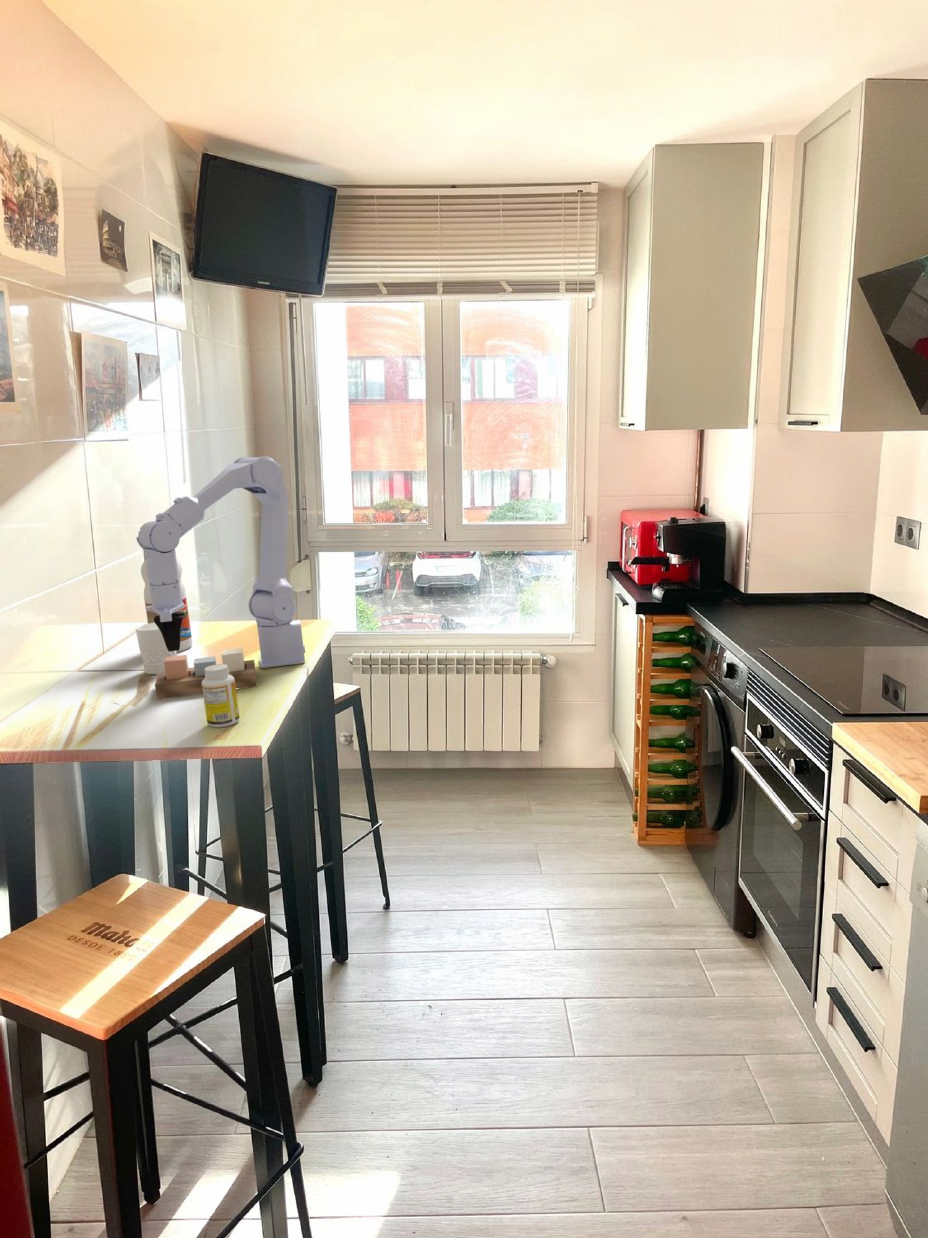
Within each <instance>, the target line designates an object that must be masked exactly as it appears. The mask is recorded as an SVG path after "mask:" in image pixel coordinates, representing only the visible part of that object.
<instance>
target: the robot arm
mask: <svg viewBox="0 0 928 1238" xmlns="http://www.w3.org/2000/svg"><path fill="white" fill-rule="evenodd" d="M283 471H284V469H283V467H282V466H281V465H279V463H278V462H277V461H276V460H275V459H274V458H272V457H270V456H260V457H246V456H245V457H243V456H242V457H241V456H240V457H238V458H237V459H235V460H234V461H233V463H232V462H231V463H229V464H228V465H226V466H225V468H224V469H223V470H222V471H221V472H220V473H219V474H218V475H216V476H215V477H214V478H213V479H212V480H211V481H209V483H207V484H206V485H205V486H204V487H203V488H202V489H201V490H199V492H197V493H196V494H195V495H194V496H193V497H191V496H186V495H185V496H183V497H176V498H175V499H174V500H173V501H172V502H173V503H174V504H172V505H171V506H170V507H169V508H167V509H165V510H164V512H162V513H161V512H160V513H157V514H156V515H155V521H154V520H153V521H146V522H145V523H143V524H142V525H141V526H140V528H139V531H138V534H137V535H138V536H137V537H136V539H135V540H136V543H138V546H139V547H140V548H141V549H142V551H144V560H145V559H146V567H147V573H148V580H149V587H150V594H151V601H152V606H147V607H145V612H146V611H153V612H155V613H157V614H159V615H158V616H155V617H154V622H155V624H156V625H157V626H158V628H159V630H160V631H161V633H162V636H163V638H164V641H165V644H166V647H167V649H168V651H169V652H170V651H178V650H179V649H180V638H181V625H182V620H183V618H184V614H185V613H184V612H176V611H178V610H180V609H182V608H184V603H183V602H182V594H181V587H180V580H179V573H178V566H177V560H178V558H177V553H176V548H177V547H178V546H179V543H180V540H181V538H182V537H184V536H185V535H186V534H187V533H188V532H190V531H191V530H192V529H194V528H195V527H196V526H197V525H198V524H200V523H201V522H202V521H203V520H204V519H205V512H206V510H207V509H208V508H211V506H213V505H214V504H215V503H217V502H218V501H219V500H221V499H222V498H224V497H225V496H227V495H228V494H229V493H231V492H233V490H235V489H243V490H245V491H247V492H248V493H251V494H252V495H253V496H254V497H255V498H256V499H257V500H258V502H260V503H261V521H260V522H261V525H260V527H261V529H260V553H259V554H260V555H259V577H258V579H257V580H256V581H255V582H254V583H253V585H252V593H251V596H250V598H249V600H248V610H249V612H250V613H249V614H251V616H253V617H254V618H255V622H256V626H257V634H258V643H259V651H260V658H258V659H259V668H260V669H268V668H275V667H282V666H291V665H299V664H305V663H306V659H305V654H306V647H305V644H304V639H303V631H302V625H301V624H302V623H301V620H300V619H297V620H295V619H294V620H292V619H293V618H294V616H295V614H296V609H297V605H296V601H295V599H294V593H293V591H294V590H293V587H292V586H291V584H290V583H289V581H288V580H287V577H286V575H287V572H286V571H287V553H288V552H287V550H288V547H287V546H288V524H289V520H288V519H289V500H290V499H289V493H288V489H287V487H286V483H285V481H284V478H283V476H284V475H283V473H284V472H283Z"/></svg>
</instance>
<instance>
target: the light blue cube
mask: <svg viewBox="0 0 928 1238" xmlns="http://www.w3.org/2000/svg"><path fill="white" fill-rule="evenodd" d="M211 665H217V661H216V655H215V656H207V657H199V658H194V661H193V667H194V669H195V676H201V675H205V668H206V667H208V666H211Z"/></svg>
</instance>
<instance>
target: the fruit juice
mask: <svg viewBox="0 0 928 1238" xmlns="http://www.w3.org/2000/svg"><path fill="white" fill-rule="evenodd" d="M177 566H178V573H179V580H180V587H181V594H182V602H183V603H184V608H182V609H180V610H178V611H176V612H184V613H185V614H184V618H183V620H182V625H181V638H180V649H179V650H178V651H176V653H179V652H181V651H187V650H189V649H191V648H192V646H193V638H192V636H193V635H192V630H191V622H190V615H189V609H188V601H187V592H186V588H185V585H184V583H183V581H182V574H183V573H182V572H183V571H182V570H183V569H182V564H181V563H180V561H179V560H178V559H177ZM140 574H141V578H142V579H143V582H144V589H143V598H144V599H143V600H144V606H145V607H144V608H146V607H147V606H152V601H151V594H150V587H149V580H148V573H147V567H146V559H145V558H144V561H143V562H142V564H141V567H140ZM145 613H146V619H147V624H149V623H155V622H154V617H155V616H158V615H159V614H157V613H155V612H153V611H146V610H145Z"/></svg>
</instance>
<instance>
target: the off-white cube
mask: <svg viewBox="0 0 928 1238" xmlns="http://www.w3.org/2000/svg"><path fill="white" fill-rule="evenodd" d="M221 660H222V664H225V665H227V666H228V670H229V672H232V671H240V670H245V666H244V661H245V659H244V651H243V648H242V647H241V648H231V649H223V650H221Z"/></svg>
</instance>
